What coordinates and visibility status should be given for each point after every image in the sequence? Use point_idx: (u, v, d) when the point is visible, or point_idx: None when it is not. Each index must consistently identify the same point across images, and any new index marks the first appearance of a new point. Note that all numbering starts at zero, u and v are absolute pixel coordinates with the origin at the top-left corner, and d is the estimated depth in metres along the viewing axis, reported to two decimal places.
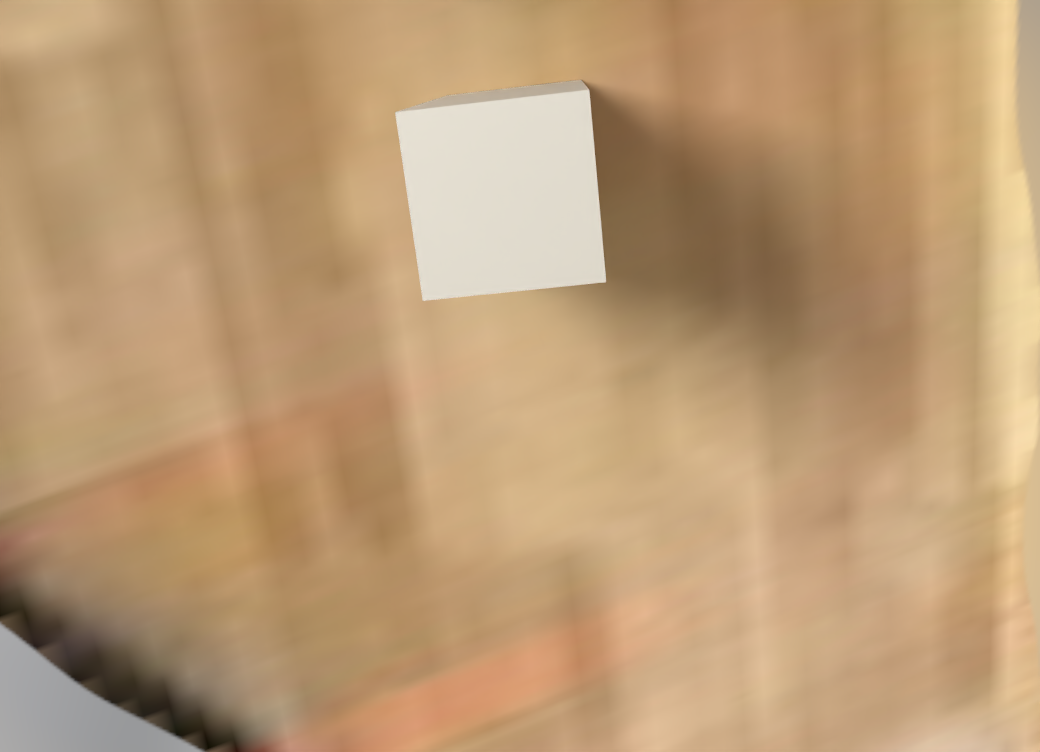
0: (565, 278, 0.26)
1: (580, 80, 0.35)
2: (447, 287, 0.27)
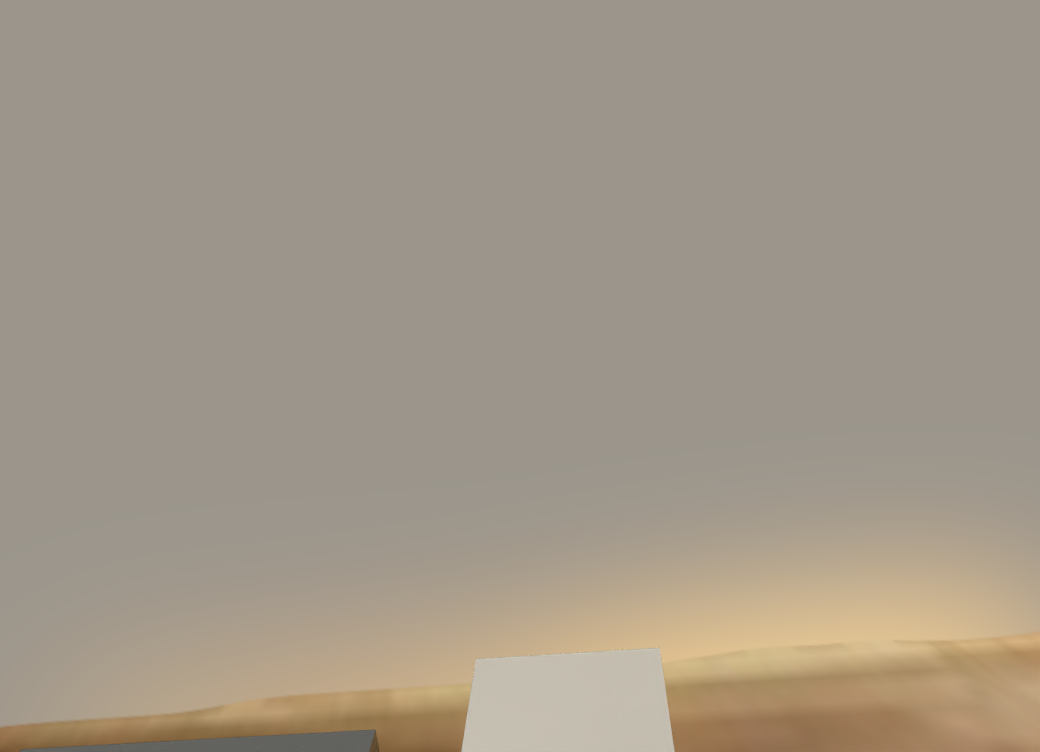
0: (654, 672, 0.25)
1: None
2: None
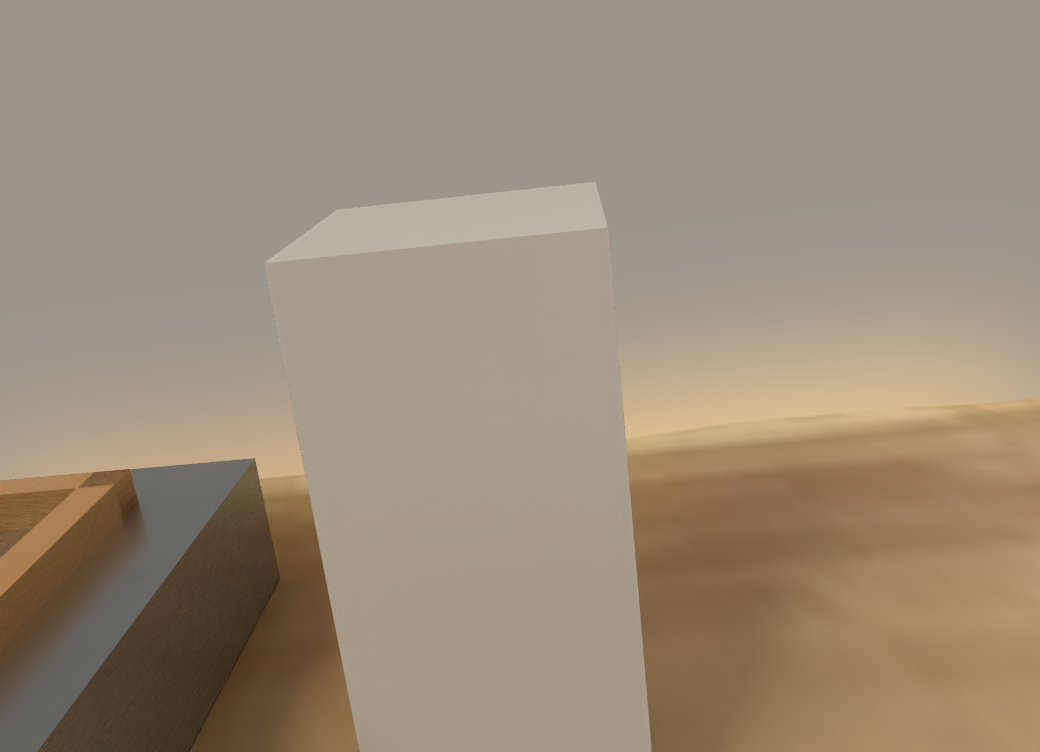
0: (585, 190, 0.18)
1: None
2: (585, 221, 0.15)
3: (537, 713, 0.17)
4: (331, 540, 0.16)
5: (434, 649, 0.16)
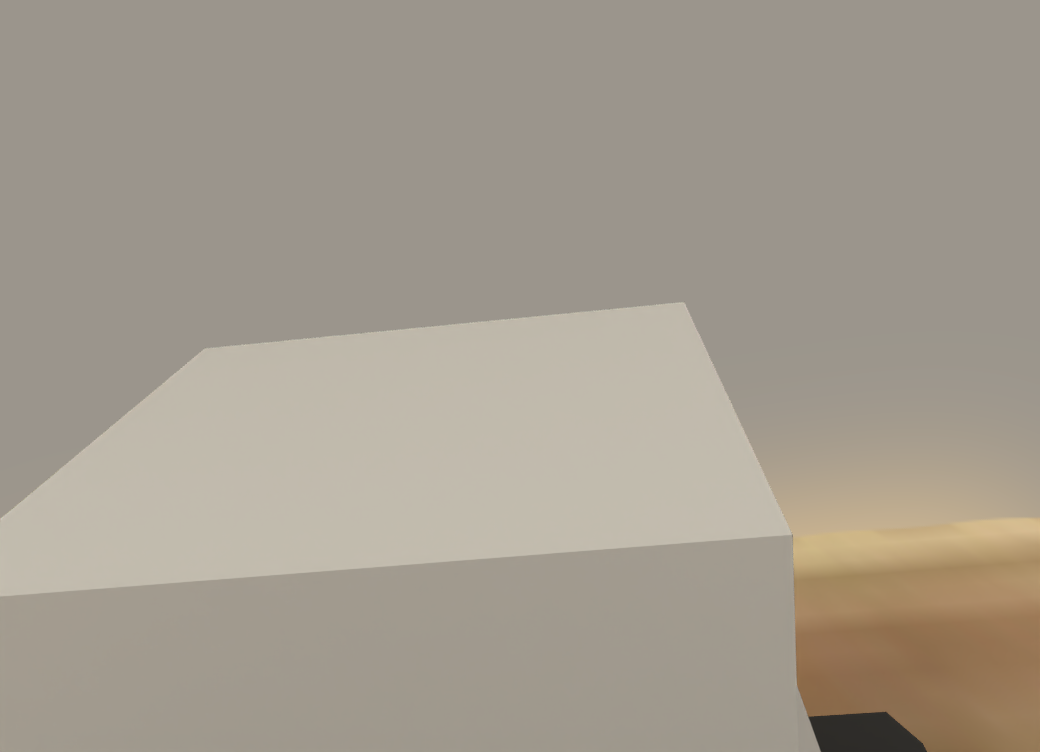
0: (673, 332, 0.09)
1: None
2: (715, 482, 0.06)
3: None
4: None
5: None
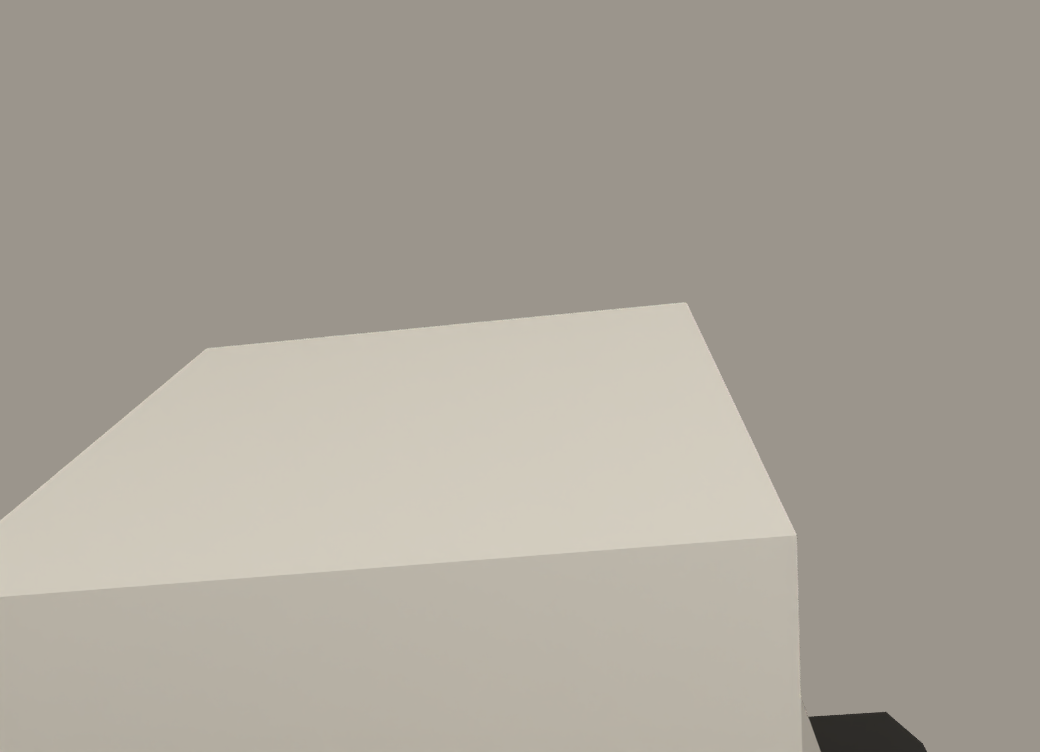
0: (676, 332, 0.09)
1: None
2: (719, 483, 0.06)
3: None
4: None
5: None
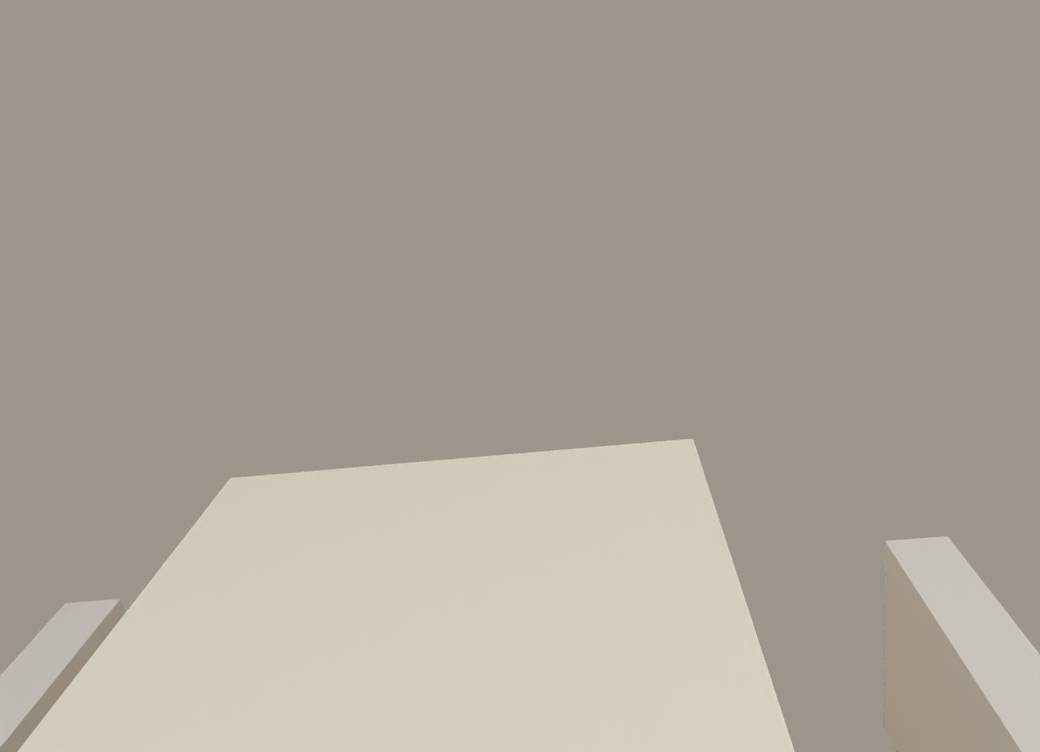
0: (683, 483, 0.09)
1: None
2: (728, 697, 0.06)
3: None
4: None
5: None
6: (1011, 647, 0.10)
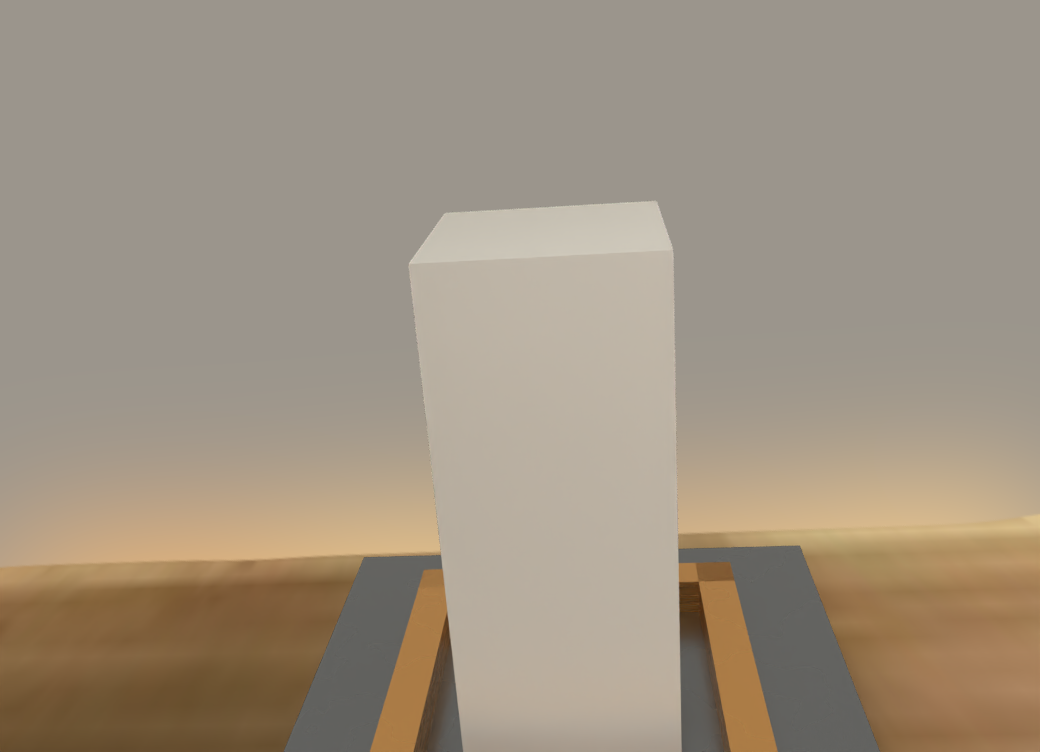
0: (649, 209, 0.22)
1: None
2: (654, 242, 0.19)
3: (593, 620, 0.21)
4: (441, 478, 0.20)
5: (515, 567, 0.21)
6: None
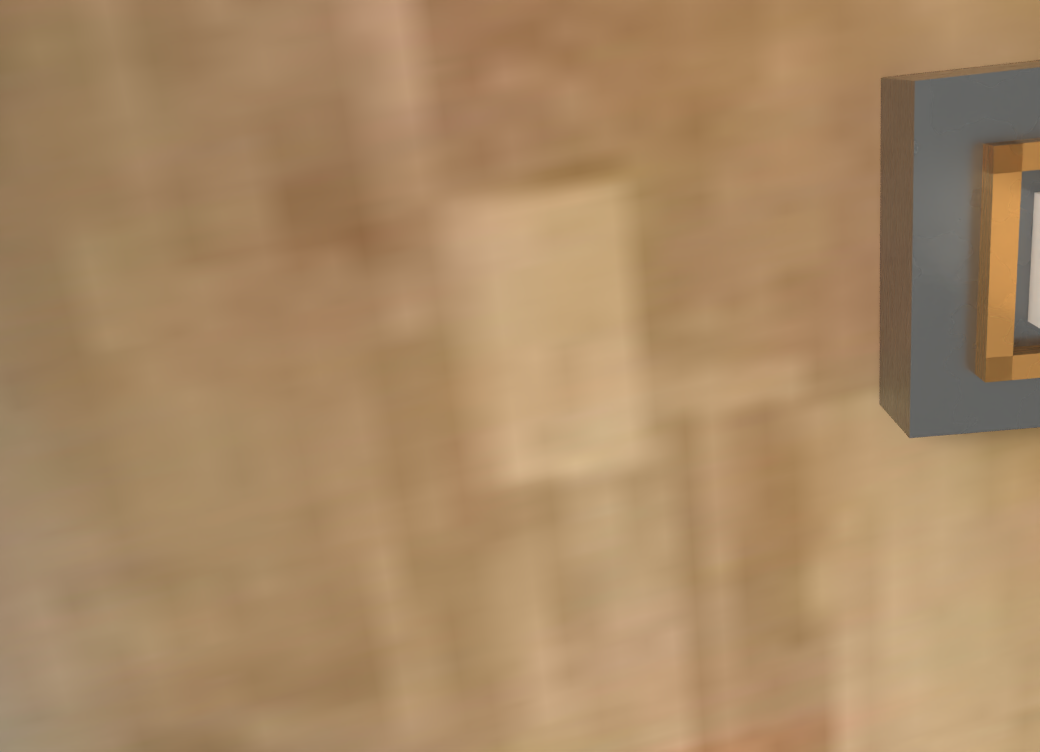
0: None
1: None
2: None
3: None
4: None
5: None
6: None
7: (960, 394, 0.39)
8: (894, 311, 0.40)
